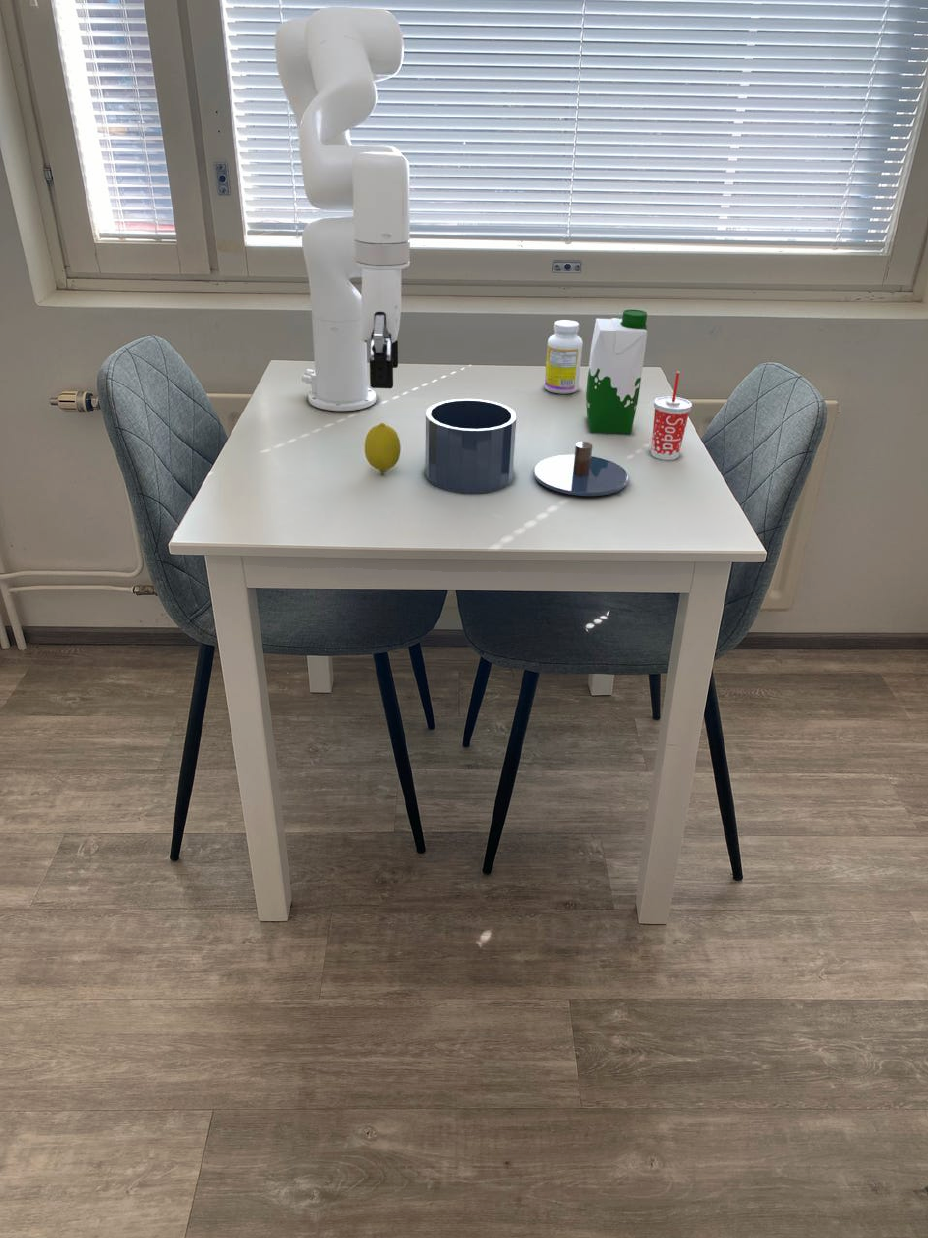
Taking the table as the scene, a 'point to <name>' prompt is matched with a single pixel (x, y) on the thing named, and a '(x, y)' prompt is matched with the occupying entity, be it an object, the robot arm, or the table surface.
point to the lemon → (382, 447)
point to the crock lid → (581, 473)
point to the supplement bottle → (563, 358)
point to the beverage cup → (669, 425)
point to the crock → (470, 445)
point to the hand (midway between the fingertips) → (384, 376)
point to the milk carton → (615, 372)
